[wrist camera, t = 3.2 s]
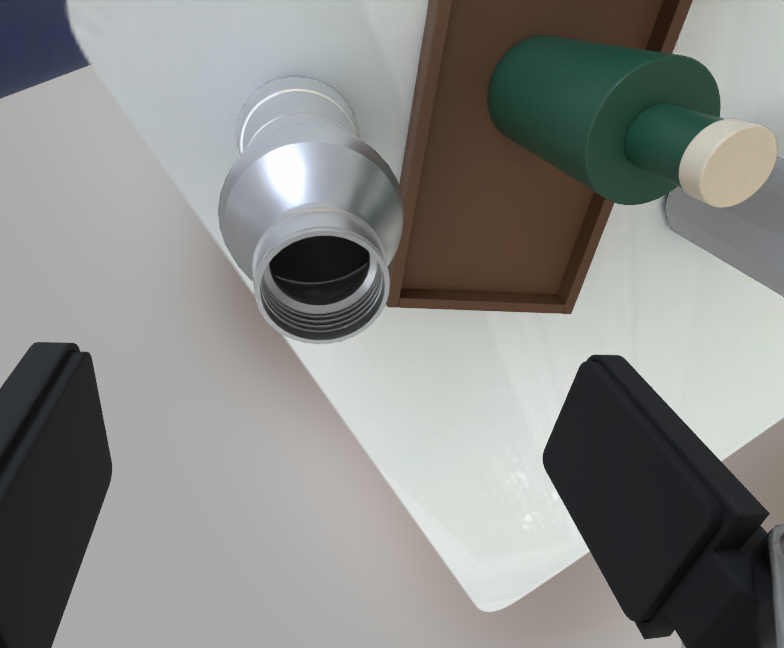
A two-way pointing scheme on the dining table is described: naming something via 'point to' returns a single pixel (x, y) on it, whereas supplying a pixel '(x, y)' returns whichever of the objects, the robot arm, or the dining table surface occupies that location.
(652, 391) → the robot arm
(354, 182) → the silver metal bottle
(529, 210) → the tray
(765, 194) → the water bottle
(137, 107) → the dining table surface
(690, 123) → the green bottle
